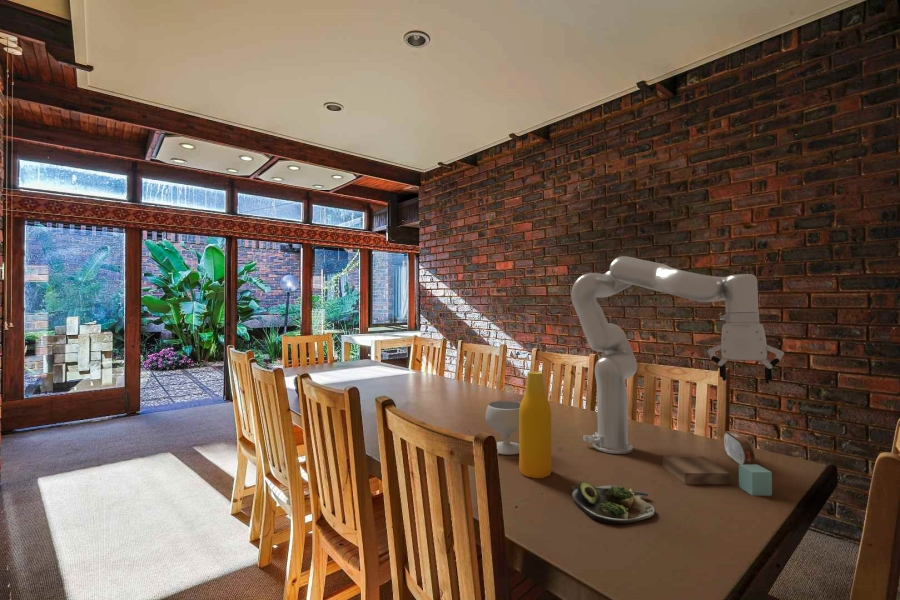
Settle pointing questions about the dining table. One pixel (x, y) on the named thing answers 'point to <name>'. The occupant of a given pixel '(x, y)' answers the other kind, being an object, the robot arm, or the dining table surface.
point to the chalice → (504, 423)
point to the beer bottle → (535, 429)
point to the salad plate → (611, 503)
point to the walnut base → (696, 470)
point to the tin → (738, 448)
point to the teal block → (755, 480)
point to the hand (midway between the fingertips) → (745, 381)
